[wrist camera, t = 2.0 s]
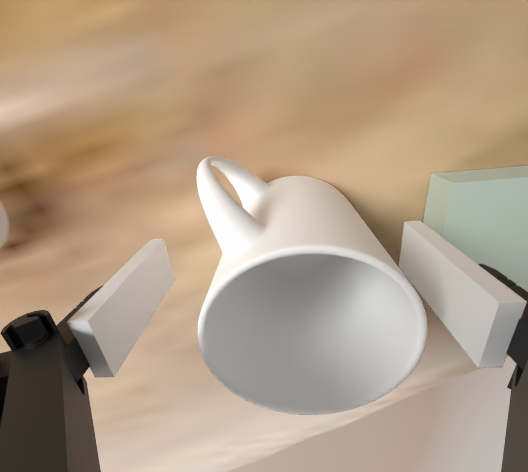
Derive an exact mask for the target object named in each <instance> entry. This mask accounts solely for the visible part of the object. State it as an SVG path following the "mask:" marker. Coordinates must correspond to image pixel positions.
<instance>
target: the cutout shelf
mask: <svg viewBox="0 0 528 472" xmlns="http://www.w3.org/2000/svg"><path fill="white" fill-rule="evenodd" d="M423 223H424V224H425V225H426V226H428V227H429V228H430V229H432V230H433V231H434V232H436V233H437V234H438V235H439V236H441V237H442V238H443V239H445V240H446V241H447V242H449V243H450V244H451V245H453V246H454V247H455V248H457V249H458V250H459V251H461V252H462V253H463V254H465V255H466V256H467V257H469V258H470V259H471V260H473V261H474V262H475V263H477V264H484V265H487V266H489V267H491V268H493V269H496V270H498V271H499V272H500V273H502V274H503V275H505V276H506V277H507V278H508V279H510V280H512V281H513V282H514V283H516V284H517V286H520V287H521V288H523V289H524V290H526V291H528V165H526V166H514V167H502V168H490V169H479V170H467V171H455V172H443V173H431V176H430V182H429V188H428V194H427V200H426V206H425V212H424V218H423Z"/></svg>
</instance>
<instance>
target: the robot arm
mask: <svg viewBox="0 0 528 472" xmlns="http://www.w3.org/2000/svg"><path fill="white" fill-rule="evenodd" d="M399 268H400V269H401V270H402V272H403V273H404V274H405V275H406V277H407V278H408V279H409V281H410V282H411V283H412V284H413V286H414V287H415V288H416V289H417V291H418V292H419V293H420V295H421V296H422V297H423V298H424V300H425V301H426V302H427V303H428V305H429V306H430V307H431V309H432V310H433V311H434V312H435V314H436V315H437V316H438V317H439V319H440V320H441V321H442V323H443V324H444V325H445V326H446V328H447V329H448V330H449V331H450V333H451V334H452V335H453V337H454V338H455V339H456V340H457V342H458V343H459V344H460V345H461V347H462V348H463V349H464V351H465V352H466V353H467V354H468V356H469V357H470V358H471V360H472V361H473V362H474V363H475V365H476V366H477V367H478V368H496V367H497V368H498V367H503V364H504V361H505V359H506V356H507V354H508V355H509V356H510V357H511V358H512V359H513V360H514V361H515V362H516V363H517V365H516V367H515V369H514V372H513V375H512V377H511V379H510V382H509V384H508V388H509V389H511V397H510V406H509V414H508V422H507V429H506V438H505V446H504V454H503V462H502V470H501V472H528V292H527V291H526V290H524V289H523V288H521V287H520V286H517V284H516V283H514V282H513V281H512V280H510V279H508V278H507V277H506V276H505V275H503V274H502V273H500V272H499V271H498V270H496V269H493V268H491V267H489V266H487V265H484V264H477V263H475V262H474V261H473V260H471V259H470V258H469V257H467V256H466V255H465V254H463V253H462V252H461V251H459V250H458V249H457V248H455V247H454V246H453V245H451V244H450V243H449V242H447V241H446V240H445V239H443V238H442V237H441V236H439V235H438V234H437V233H436V232H434V231H433V230H432V229H430V228H429V227H428V226H426V225H425V224H424V223H422V222H421V221H406V222H404V229H403V237H402V245H401V253H400V261H399ZM174 280H175V278H174V274H173V270H172V267H171V263H170V260H169V256H168V252H167V249H166V245H165V242H164V238H163V239H151V240H150V241H149V242H148V243H147V244H145V245H144V246H143V247H142V248H141V249H140V250H139V251H138V252H137V253H136V254H135V255H134V256H133V257H132V258H131V259H130V260H129V261H128V262H127V263H126V264H125V265H124V266H123V267H122V268H121V269H120V270H119V271H118V272H117V273H116V274H115V275H114V276H113V277H112V278H111V279H110V280H109V281H108V282H107V283H106V284H105V285H104V286H101V287H99V288H98V289H96V290H95V291H93V292H91V293H90V294H89V295H88V296H87V297H86V298H85V299H84V300H83V302H81V303H80V304H79V305H78V306H77V308H75V309H74V310H72V311H71V312H70V313H69V314H68V315H67V316H66V317H65V318H64V319H63V320H62V321H61V322H60V323H59V324H58V325H57V326H56V324H55V323H54V321H53V319H52V317H51V315H50V313H49V312H48V311H45V310H39V311H34V312H31V313H27V314H25V315H23V316H21V317H18V318H17V319H15V320H13V321H12V322H10V323H9V324H8V325H7V326H5V327H4V328H3V330H2V331H1V335H2V336H3V338H4V339H5V341H6V342H7V344H8V345H9V347H10V348H11V350H12V351H8V352H4V353H0V472H101V471H100V465H99V458H98V452H97V446H96V439H95V433H94V427H93V420H92V414H91V408H90V401H89V395H88V389H87V382H86V380H85V378H84V376H83V375H84V373H85V372H86V371H87V369H88V368H89V367H90V368H91V370H92V372H93V374H94V376H95V377H114V376H115V375H116V373H117V371H118V370H119V368H120V367H121V365H122V363H123V362H124V360H125V359H126V357H127V355H128V354H129V352H130V351H131V349H132V347H133V346H134V344H135V343H136V341H137V339H138V338H139V336H140V335H141V333H142V331H143V330H144V328H145V327H146V325H147V323H148V322H149V320H150V319H151V317H152V315H153V314H154V312H155V311H156V309H157V307H158V306H159V304H160V303H161V301H162V299H163V298H164V296H165V295H166V293H167V291H168V290H169V288H170V287H171V285H172V283H173V282H174Z"/></svg>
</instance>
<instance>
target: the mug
mask: <svg viewBox="0 0 528 472" xmlns="http://www.w3.org/2000/svg"><path fill="white" fill-rule="evenodd" d="M211 165H213V166H215V167H217V168H218V169H219V170H221V171H222V172H223V173H224V175H225V176H226V177H227V178H228V179H229V181H230V182H231V183H232V185H233V186H234V188H235V190H236V191H237V193H238V195H239V197H240V199H241V201H242V204H243V206H241V205H240V204H239V203H238V202H237V201H236V200H235V199H234V198H233V197H232V196H231V195H230V194H229V192H228V191H227V190H226V189H225V188H224V187H223V185H222V184H221V183H220V181H219V180H218V179H217V177H216V176H215V174H214V172H213V170H212V168H211ZM197 186H198V192H199V196H200V200H201V203H202V206H203V208H204V211H205V214H206V216H207V219H208V221H209V223H210V226H211V228H212V230H213V232H214V234H215V237H216V239H217V241H218V243H219V245H220V247H221V250H222V252H223V254H222V257H221V260H220V262H219V265H218V268H217V270H216V273H215V275H214V278H213V280H212V283H211V286H210V288H209V291H208V294H207V296H206V299H205V301H204V304H203V306H202V309H201V313H200V316H199V321H198V342H199V346H200V350H201V354H202V356H203V358H204V361H205V363H206V364H207V366H208V368H209V369H210V371H211V372H212V373H213V375H214V376H215V377H216V378H217V380H219V381H220V382H221V383H222V384H223V385H224V386H225V387H226V388H227V389H229V390H230V391H231V392H233V393H234V394H236V395H237V396H239V397H241V398H243V399H244V400H246V401H248V402H251V403H253V404H255V405H258V406H260V407H263V408H266V409H270V410H274V411H278V412H283V413H289V414H299V415H321V414H331V413H337V412H343V411H347V410H351V409H354V408H357V407H360V406H363V405H366V404H368V403H370V402H373V401H375V400H377V399H379V398H380V397H382V396H384V395H386V394H387V393H389V392H390V391H392V390H393V389H394V388H396V387H397V386H398V385H399V384H400V383H402V382H403V381H404V380H405V379H406V378H407V377H408V375H409V374H410V373H411V372H412V371H413V370H414V368H415V366H416V365H417V363H418V362H419V360H420V358H421V356H422V353H423V351H424V348H425V344H426V340H427V328H428V327H427V318H426V312H425V309H424V306H423V303H422V301H421V299H420V297H419V295H418V293H417V291H416V290H415V289H414V287H413V286H412V285H411V283H410V282H409V281H408V279H407V278H406V277H405V275H404V274H403V273H402V271H401V270H400V269H399V267H398V266H397V265H396V263H395V262H394V261H393V259H392V258H391V257H390V255H389V254H388V253H387V251H386V250H385V249H384V247H383V246H382V245H381V243H380V242H379V241H378V239H377V238H376V237H375V235H374V234H373V233H372V231H371V230H370V229H369V227H368V226H367V225H366V224H365V222H364V221H363V220H362V218H361V217H360V216H359V214H358V213H357V212H356V210H355V209H354V208H353V206H352V205H351V204H350V202H349V201H348V200H347V199H346V197H345V196H344V195H343V194H341V193H340V192H339V191H338V190H337V189H336V188H334V187H333V186H332V185H330V184H328V183H326V182H324V181H322V180H319V179H316V178H313V177H308V176H287V177H282V178H278V179H275V180H273V181H270V182H268V183H265V182H264V181H263V180H261V179H260V178H259V177H258V176H256V175H255V174H254V173H252V172H251V171H249V170H248V169H246V168H245V167H243V166H241V165H239V164H238V163H236V162H234V161H231V160H229V159H226V158H223V157H217V156H212V157H207V158H205V159H203V160H202V162H201V163H200V164H199V167H198V170H197Z"/></svg>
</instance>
